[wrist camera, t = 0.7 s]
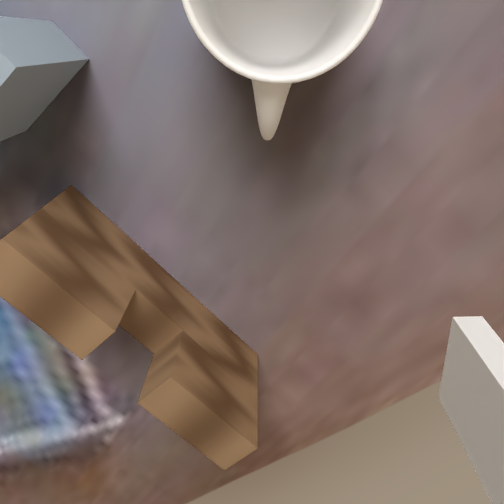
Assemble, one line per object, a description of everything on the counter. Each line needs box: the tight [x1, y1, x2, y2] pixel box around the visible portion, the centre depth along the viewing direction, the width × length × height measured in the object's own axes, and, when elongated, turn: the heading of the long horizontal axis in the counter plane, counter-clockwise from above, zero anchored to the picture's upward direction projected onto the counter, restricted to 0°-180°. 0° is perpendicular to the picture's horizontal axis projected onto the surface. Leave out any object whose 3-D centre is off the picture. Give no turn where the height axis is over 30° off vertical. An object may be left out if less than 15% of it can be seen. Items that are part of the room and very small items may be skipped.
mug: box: [182, 0, 383, 140], centre depth 24 cm, size 9×12×11 cm
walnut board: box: [0, 185, 258, 470], centre depth 33 cm, size 20×3×10 cm, turn 42°
